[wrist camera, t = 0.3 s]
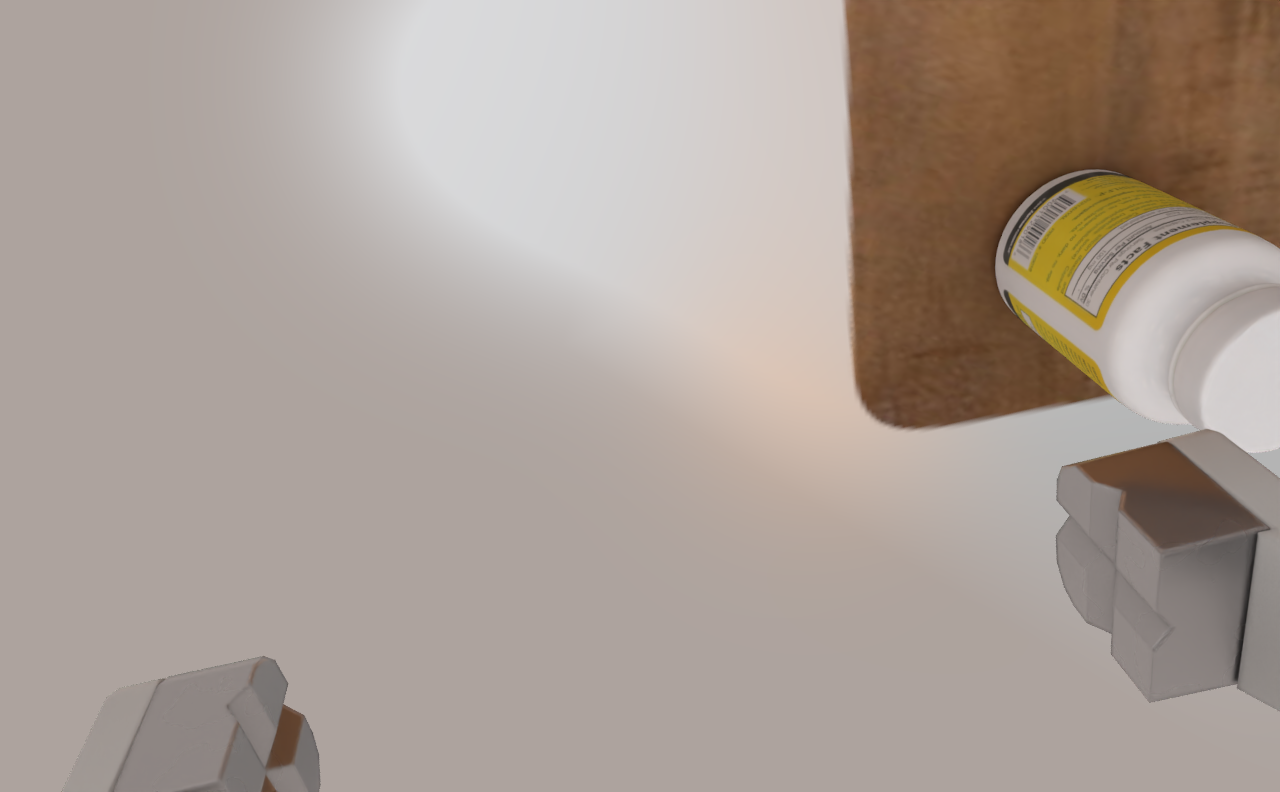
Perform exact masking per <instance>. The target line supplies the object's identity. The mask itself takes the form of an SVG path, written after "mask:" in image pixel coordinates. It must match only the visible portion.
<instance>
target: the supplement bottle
mask: <svg viewBox="0 0 1280 792" xmlns="http://www.w3.org/2000/svg"><path fill="white" fill-rule="evenodd" d="M995 273H996V280H997V285H998V288H999V291H1000V294H1001V296H1002V298H1003V300H1004V301H1005V303H1006V304H1007V306H1008V307H1009V308H1010V310H1011V311H1012V312H1013V313H1014V314H1015V315H1016V316H1017V317H1018V318H1019V319H1020V320H1021V321H1022V322H1024V323H1025V324H1026V325H1027V326H1028V327H1030V328H1031V329H1032V330H1033V331H1035V332H1036V333H1037V334H1038V335H1039V336H1041V337H1042V338H1043V339H1044V340H1045V341H1047V342H1048V343H1049V344H1050V345H1051V346H1053V347H1054V348H1055V349H1056V350H1057V351H1059V352H1060V353H1061V354H1062V355H1064V356H1065V357H1066V358H1067V359H1068V360H1069V361H1071V362H1072V363H1073V364H1074V365H1075V366H1077V367H1078V368H1079V369H1080V370H1081V371H1083V372H1084V373H1085V374H1086V375H1087V376H1089V377H1090V378H1091V379H1092V380H1094V381H1095V382H1096V383H1097V384H1098V385H1099V386H1101V387H1102V388H1103V389H1104V390H1105V391H1106V392H1108V393H1109V394H1110V395H1111V396H1113V397H1114V398H1115V399H1116V400H1118V401H1119V402H1120V403H1122V404H1123V405H1124V406H1126V407H1127V408H1129V409H1130V410H1131V411H1133V412H1135V413H1136V414H1138V415H1140V416H1142V417H1144V418H1147V419H1150V420H1153V421H1156V422H1160V423H1166V424H1176V425H1179V424H1192V425H1193V426H1194V427H1196V428H1197V429H1199V430H1204V429H1210V430H1214V431H1217V432H1220V433H1222V434H1223V435H1225V436H1226V437H1227V438H1228V439H1230V440H1231V441H1232V442H1234V443H1235V444H1236V445H1237V446H1239V447H1240V448H1241V449H1243V450H1244V451H1245V452H1246V453H1260V452H1267V451H1271V450H1276V449H1279V448H1280V249H1279V248H1278V247H1276V246H1275V245H1273V244H1271V243H1270V242H1268V241H1266V240H1264V239H1263V238H1261V237H1259V236H1257V235H1255V234H1253V233H1251V232H1248V231H1246V230H1244V229H1242V228H1240V227H1237V226H1235V225H1233V224H1231V223H1229V222H1227V221H1224V220H1222V219H1220V218H1218V217H1216V216H1214V215H1212V214H1210V213H1207V212H1205V211H1203V210H1201V209H1199V208H1197V207H1194V206H1192V205H1190V204H1188V203H1186V202H1184V201H1182V200H1179V199H1177V198H1175V197H1173V196H1171V195H1169V194H1166V193H1164V192H1162V191H1160V190H1158V189H1156V188H1153V187H1151V186H1149V185H1147V184H1145V183H1143V182H1140V181H1138V180H1135V179H1133V178H1131V177H1129V176H1126V175H1123V174H1120V173H1117V172H1113V171H1108V170H1098V169H1095V170H1083V171H1077V172H1073V173H1070V174H1066V175H1063V176H1061V177H1059V178H1056V179H1054V180H1052V181H1050V182H1049V183H1047V184H1045V185H1043V186H1042V187H1041V188H1039V189H1038V190H1036V191H1035V192H1034V193H1033V194H1032V195H1030V196H1029V197H1028V198H1027V199H1026V200H1025V201H1024V202H1023V203H1022V204H1021V205H1020V207H1019V208H1018V209H1017V210H1016V212H1015V213H1014V214H1013V215H1012V217H1011V218H1010V220H1009V222H1008V223H1007V225H1006V227H1005V229H1004V231H1003V234H1002V236H1001V239H1000V242H999V245H998V249H997V254H996V264H995Z"/></svg>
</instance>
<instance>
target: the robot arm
mask: <svg viewBox="0 0 1280 792" xmlns="http://www.w3.org/2000/svg"><path fill="white" fill-rule="evenodd" d="M1057 501H1058V502H1059V504H1060V505H1061V506H1062V507H1063V508H1064V509H1065V511H1066V512H1067V513H1068V514H1069V515H1070V516H1069V517H1068V519H1067V520H1066V522H1065V523H1064V525H1063V526H1062V527H1061V529H1060V530H1059V532H1058V533H1057V535H1056V548H1057V564H1058V567H1059V571H1060V574H1061V578H1062V581H1063V585H1064V588H1065V589H1066V592H1067V594H1068V595H1069V597H1070V599H1071V601H1072V603H1073V605H1074V607H1075V608H1076V609H1077V611H1078V612H1079V613H1080V614H1081V616H1082V617H1083V618H1084V620H1085V621H1086V622H1087V623H1088V624H1090V625H1093V626H1095V627H1097V628H1100V629H1102V630H1104V631H1106V632H1109V633H1111V634H1112V641H1111V655H1112V656H1113V657H1114V658H1115V660H1116V661H1117V662H1118V664H1119V665H1120V666H1121V667H1122V669H1123V670H1124V671H1125V672H1126V674H1127V675H1128V676H1129V677H1130V679H1131V680H1132V681H1133V682H1134V684H1135V685H1136V686H1137V688H1138V689H1139V690H1140V691H1141V692H1142V694H1143V695H1144V696H1145V698H1146V699H1147V700H1148V701H1149V703H1151V702H1155V701H1160V700H1165V699H1169V698H1174V697H1179V696H1183V695H1188V694H1193V693H1197V692H1202V691H1206V690H1211V689H1216V688H1221V687H1225V686H1230V685H1235V684H1237V688H1238V689H1239V690H1241V691H1243V692H1245V693H1247V694H1249V695H1250V696H1252V697H1254V698H1256V699H1258V700H1260V701H1261V702H1263V703H1265V704H1267V705H1269V706H1271V707H1273V708H1274V709H1277V710H1278V711H1280V478H1278V477H1277V476H1276V475H1275V474H1274V473H1272V472H1271V471H1270V470H1268V469H1267V468H1266V467H1264V466H1263V465H1262V464H1261V463H1259V462H1258V461H1257V460H1255V459H1254V458H1253V457H1252V456H1250V455H1249V454H1248V453H1246V452H1245V451H1244V450H1243V449H1241V448H1240V447H1239V446H1237V445H1236V444H1235V443H1234V442H1232V441H1231V440H1230V439H1228V438H1227V437H1226V436H1225V435H1223V434H1222V433H1220V432H1217V431H1214V430H1210V429H1204V430H1200V431H1196V432H1192V433H1189V434H1185V435H1181V436H1178V437H1174V438H1169V439H1166V440H1162V441H1159V442H1158V443H1157V444H1152V445H1148V446H1144V447H1140V448H1136V449H1132V450H1128V451H1123V452H1120V453H1115V454H1111V455H1107V456H1103V457H1099V458H1095V459H1091V460H1087V461H1083V462H1078V463H1074V464H1071V465H1066V466H1062V468H1061V470H1060V473H1059V476H1058V479H1057ZM287 687H288V682H287V681H286V679H285V677H284V676H283V674H282V672H281V670H280V668H279V667H278V665H277V663H276V661H275V660H273V659H270V658H268V657H265V656H262V657H257V658H253V659H248V660H243V661H239V662H234V663H230V664H225V665H220V666H215V667H211V668H206V669H202V670H197V671H192V672H188V673H183V674H178V675H174V676H169V677H167V678H166V679H158V680H153V681H149V682H144V683H140V684H136V685H131V686H127V687H122V688H119V689H118V690H116V691H115V692H113V693H112V694H111V695H109V696H108V697H107V698H106V700H105V702H104V704H103V706H102V708H101V710H100V712H99V714H98V717H97V718H96V721H95V723H94V725H93V727H92V729H91V731H90V733H89V735H88V737H87V739H86V741H85V744H84V746H83V748H82V750H81V752H80V754H79V756H78V758H77V761H76V763H75V765H74V767H73V769H72V771H71V773H70V775H69V777H68V779H67V781H66V783H65V786H64V788H63V790H62V792H319V789H320V769H319V753H318V750H317V746H316V743H315V740H314V736H313V732H312V730H311V729H310V726H309V724H308V722H307V720H306V718H305V716H304V715H303V714H301V713H299V712H297V711H295V710H293V709H291V708H290V707H288V706H286V705H284V704H283V703H284V698H285V694H286V691H287Z"/></svg>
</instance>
